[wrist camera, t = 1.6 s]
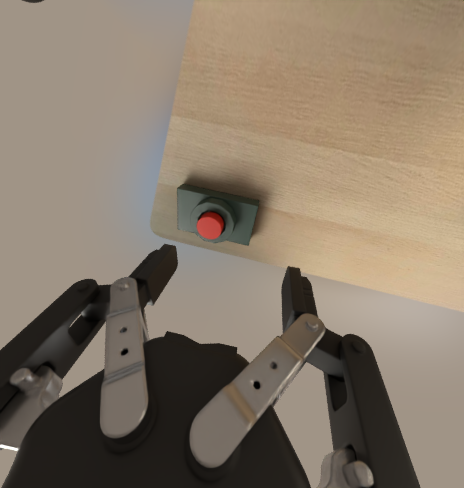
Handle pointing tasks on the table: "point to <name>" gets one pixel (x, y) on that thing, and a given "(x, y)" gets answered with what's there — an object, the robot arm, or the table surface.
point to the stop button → (210, 225)
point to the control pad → (226, 205)
